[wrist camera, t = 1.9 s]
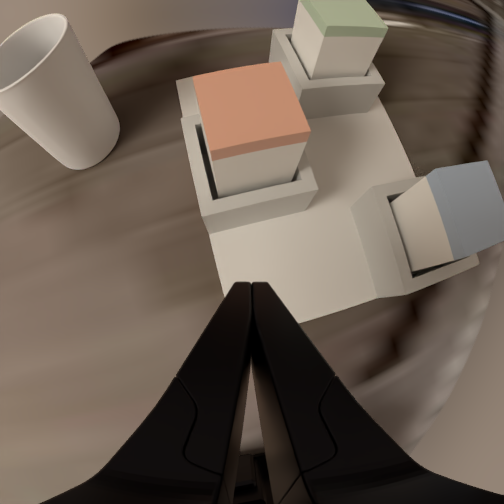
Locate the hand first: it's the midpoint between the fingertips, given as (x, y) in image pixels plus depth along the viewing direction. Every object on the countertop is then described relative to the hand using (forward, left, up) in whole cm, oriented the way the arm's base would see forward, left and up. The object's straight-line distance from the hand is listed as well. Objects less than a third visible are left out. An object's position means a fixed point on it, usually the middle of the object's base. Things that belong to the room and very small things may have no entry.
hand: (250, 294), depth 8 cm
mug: (+18, +11, -14) cm, 25 cm away
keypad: (+9, -7, -14) cm, 18 cm away
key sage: (+16, -11, -10) cm, 22 cm away
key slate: (+1, -13, -10) cm, 16 cm away
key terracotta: (+9, -2, -10) cm, 14 cm away
